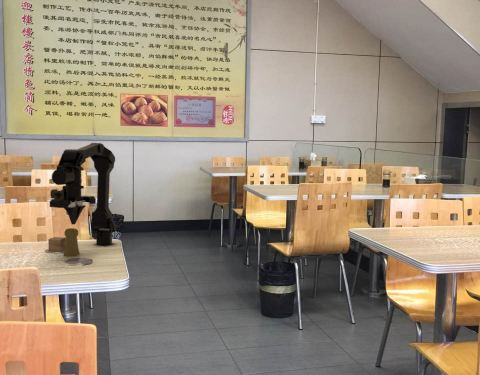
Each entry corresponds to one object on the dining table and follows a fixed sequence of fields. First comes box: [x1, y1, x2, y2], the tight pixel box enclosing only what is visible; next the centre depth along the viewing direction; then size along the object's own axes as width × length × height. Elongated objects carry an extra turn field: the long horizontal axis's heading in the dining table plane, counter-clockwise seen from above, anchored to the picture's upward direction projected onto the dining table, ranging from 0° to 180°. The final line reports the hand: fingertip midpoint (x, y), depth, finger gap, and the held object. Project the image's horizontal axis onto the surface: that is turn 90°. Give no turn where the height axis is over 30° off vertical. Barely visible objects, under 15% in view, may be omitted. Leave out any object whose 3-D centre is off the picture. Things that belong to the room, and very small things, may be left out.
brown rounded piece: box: [63, 227, 80, 258], centre depth 206 cm, size 6×6×11 cm
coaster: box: [43, 248, 64, 255], centre depth 213 cm, size 10×10×1 cm
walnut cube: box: [47, 236, 66, 252], centre depth 213 cm, size 5×5×5 cm
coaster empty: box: [64, 257, 94, 267], centre depth 197 cm, size 10×10×1 cm
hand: (73, 224), depth 201 cm, fingers closed
